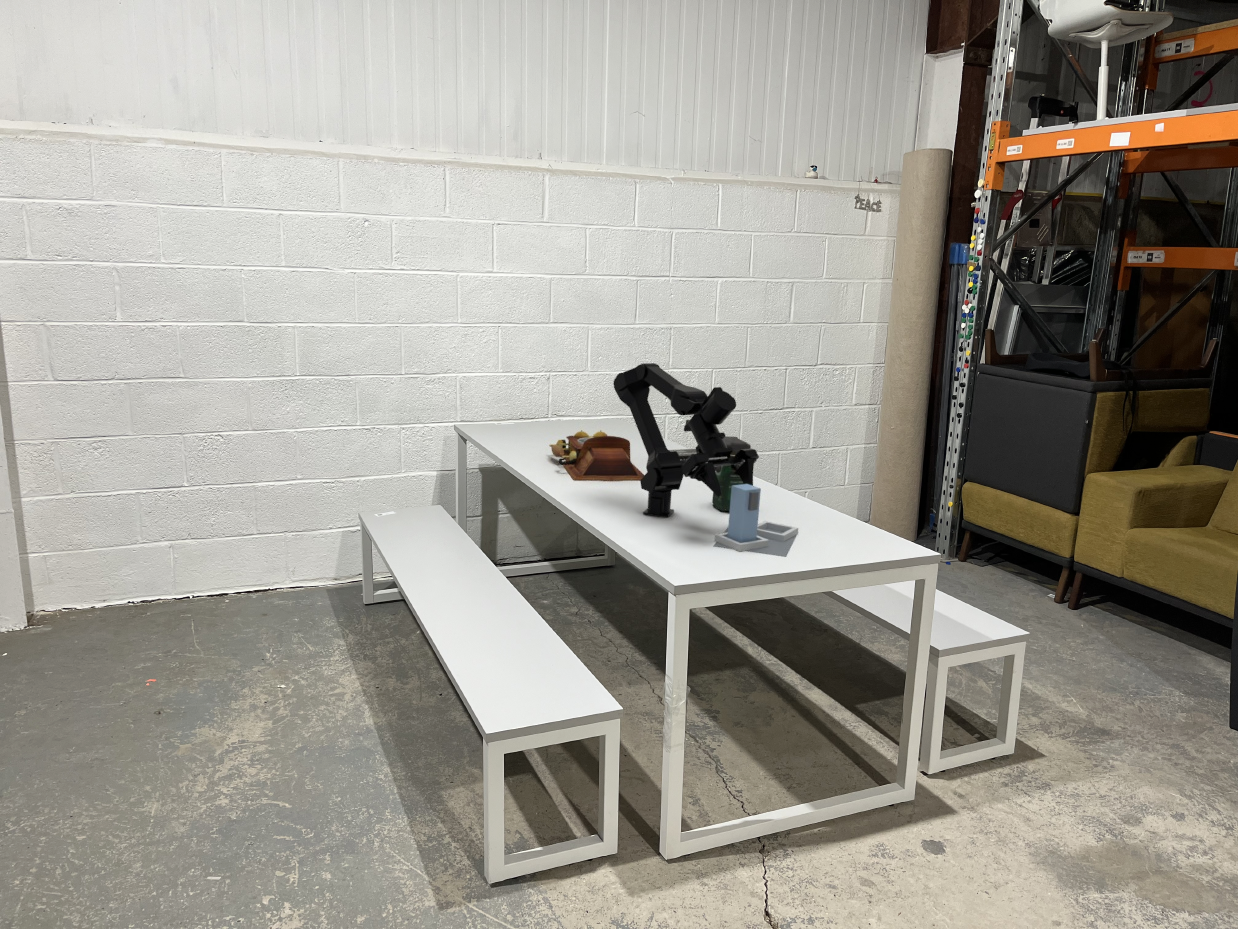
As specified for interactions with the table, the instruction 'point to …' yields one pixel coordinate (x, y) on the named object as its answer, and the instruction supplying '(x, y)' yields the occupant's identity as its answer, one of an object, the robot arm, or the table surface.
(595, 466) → the brown wooden toy
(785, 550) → the panel
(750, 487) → the plug
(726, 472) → the coffee jar
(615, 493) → the table surface
